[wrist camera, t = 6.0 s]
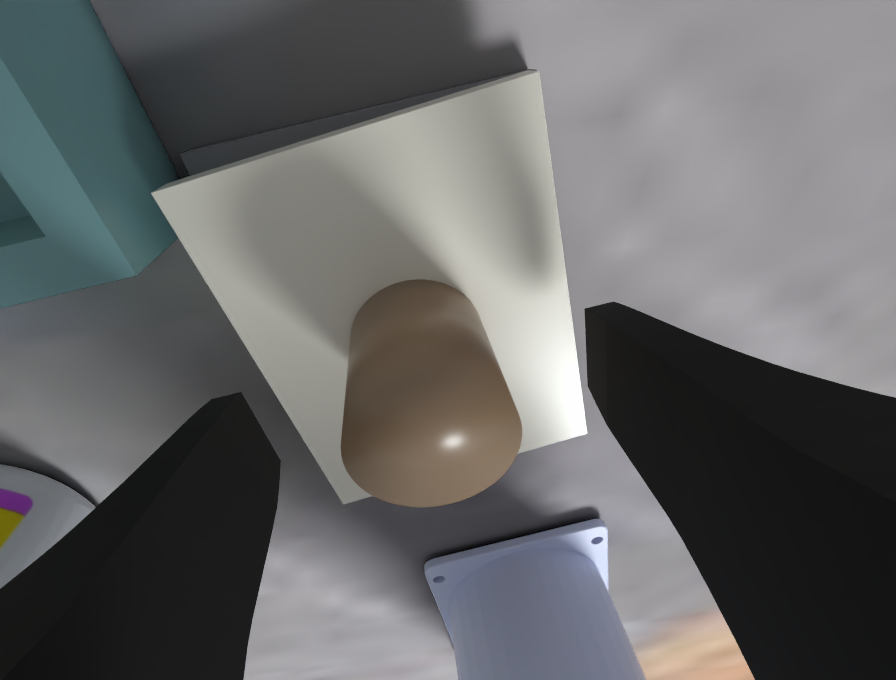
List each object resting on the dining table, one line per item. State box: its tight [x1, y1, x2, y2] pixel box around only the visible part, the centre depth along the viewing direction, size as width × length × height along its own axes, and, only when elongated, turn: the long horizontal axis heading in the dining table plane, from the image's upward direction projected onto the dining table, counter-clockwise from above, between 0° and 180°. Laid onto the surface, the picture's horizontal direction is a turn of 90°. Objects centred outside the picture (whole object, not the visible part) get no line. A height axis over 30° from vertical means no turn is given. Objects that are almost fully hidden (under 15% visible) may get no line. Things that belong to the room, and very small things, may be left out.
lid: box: [151, 70, 587, 507], centre depth 10 cm, size 10×8×5 cm
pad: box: [180, 69, 537, 176], centre depth 13 cm, size 10×8×1 cm
